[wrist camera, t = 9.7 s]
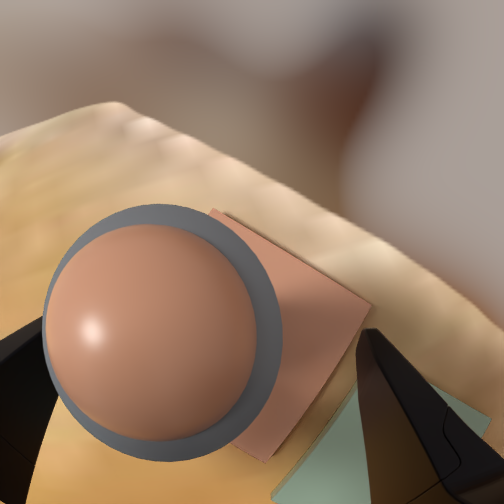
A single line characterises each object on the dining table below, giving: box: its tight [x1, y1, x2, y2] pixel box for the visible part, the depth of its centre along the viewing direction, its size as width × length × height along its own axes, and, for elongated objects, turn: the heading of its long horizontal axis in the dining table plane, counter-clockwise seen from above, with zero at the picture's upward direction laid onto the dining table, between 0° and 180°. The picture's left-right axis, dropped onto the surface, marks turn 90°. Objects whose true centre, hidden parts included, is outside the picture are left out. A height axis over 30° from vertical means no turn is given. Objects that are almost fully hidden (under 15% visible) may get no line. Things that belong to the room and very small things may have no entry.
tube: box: [42, 204, 283, 462], centre depth 10 cm, size 4×4×14 cm
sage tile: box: [271, 381, 492, 504], centre depth 14 cm, size 11×11×1 cm
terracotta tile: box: [208, 208, 372, 463], centre depth 17 cm, size 11×11×1 cm
